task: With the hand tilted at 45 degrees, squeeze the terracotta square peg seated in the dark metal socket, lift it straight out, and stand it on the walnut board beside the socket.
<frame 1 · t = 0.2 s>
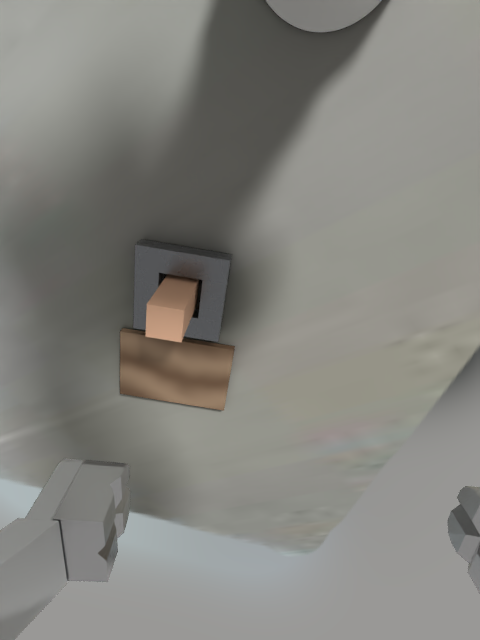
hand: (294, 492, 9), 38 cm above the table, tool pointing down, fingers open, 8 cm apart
board: (176, 368, 55), on the table
peg: (174, 304, 44), in the socket
socket: (183, 288, 49), on the table
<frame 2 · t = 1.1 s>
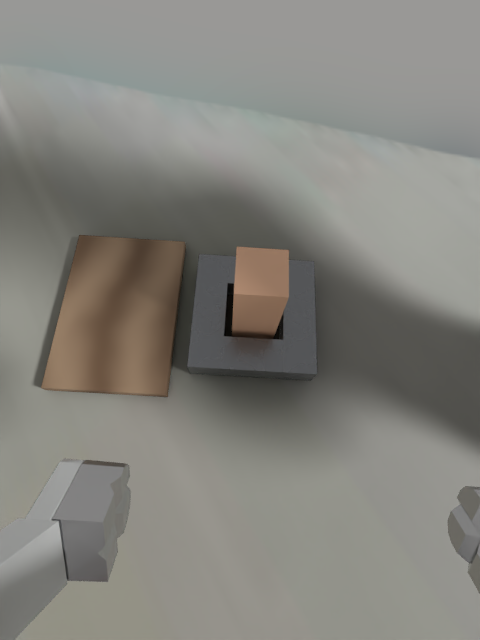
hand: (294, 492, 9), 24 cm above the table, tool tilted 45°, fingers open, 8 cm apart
board: (121, 312, 37), on the table
peg: (256, 299, 32), in the socket
socket: (252, 320, 37), on the table
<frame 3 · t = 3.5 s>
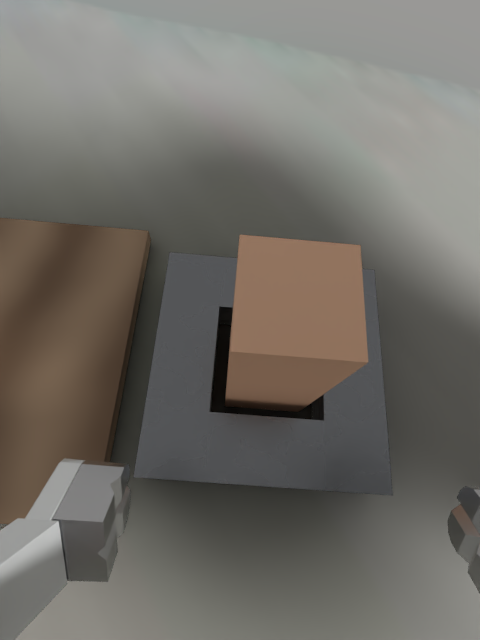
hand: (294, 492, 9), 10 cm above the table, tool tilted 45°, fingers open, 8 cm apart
board: (27, 354, 20), on the table
peg: (276, 345, 16), in the socket
socket: (263, 372, 21), on the table
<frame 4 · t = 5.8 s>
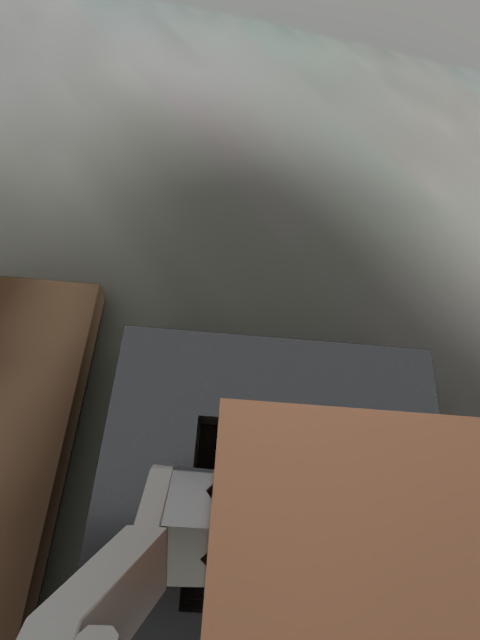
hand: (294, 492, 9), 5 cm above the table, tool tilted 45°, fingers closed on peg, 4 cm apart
peg: (291, 520, 9), in the socket, touching gripper
socket: (265, 503, 14), on the table
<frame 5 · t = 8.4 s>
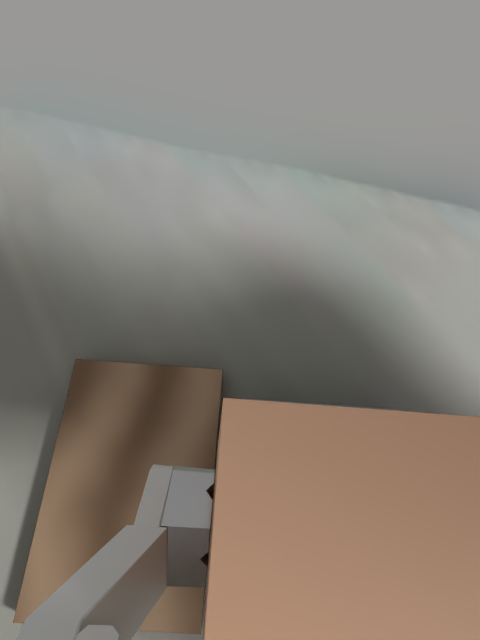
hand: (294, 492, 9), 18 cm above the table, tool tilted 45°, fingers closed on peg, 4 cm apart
board: (134, 479, 26), on the table
peg: (293, 520, 9), point 18 cm above the table, touching gripper
when the fingers open (8 cm above the table, at t = 11.5 s): peg drops 1 cm, resting on board.
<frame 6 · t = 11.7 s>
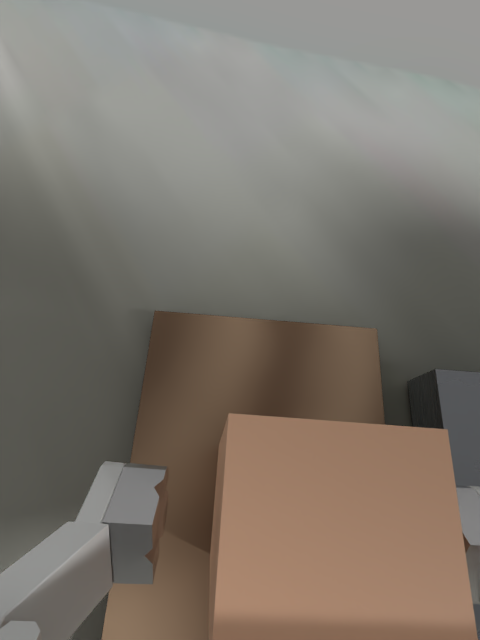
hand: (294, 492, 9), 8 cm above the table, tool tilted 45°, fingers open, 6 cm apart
board: (257, 498, 16), on the table
peg: (286, 514, 11), on the board, point 6 cm above the table
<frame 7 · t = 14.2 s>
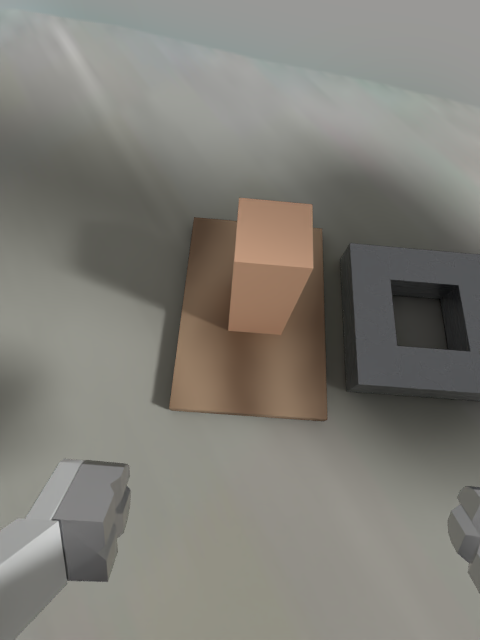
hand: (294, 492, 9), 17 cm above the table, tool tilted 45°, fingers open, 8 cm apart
board: (252, 313, 29), on the table
peg: (263, 277, 24), on the board, point 6 cm above the table
socket: (412, 326, 30), on the table
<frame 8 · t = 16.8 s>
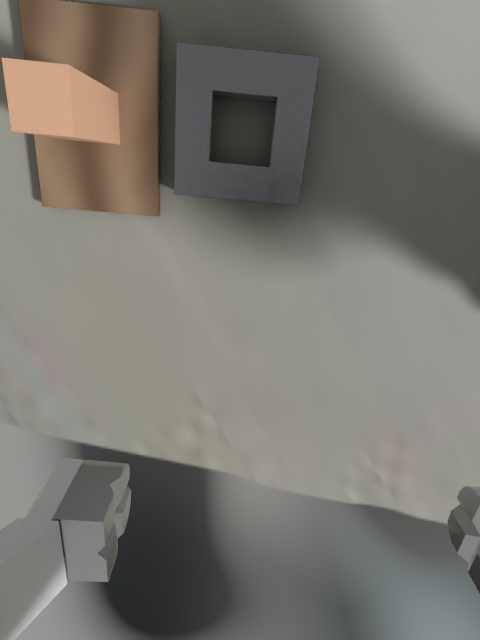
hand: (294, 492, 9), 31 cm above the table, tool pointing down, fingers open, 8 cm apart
board: (98, 118, 33), on the table
peg: (72, 109, 28), on the board, point 6 cm above the table
socket: (242, 132, 34), on the table
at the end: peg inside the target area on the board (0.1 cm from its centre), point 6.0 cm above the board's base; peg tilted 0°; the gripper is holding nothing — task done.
